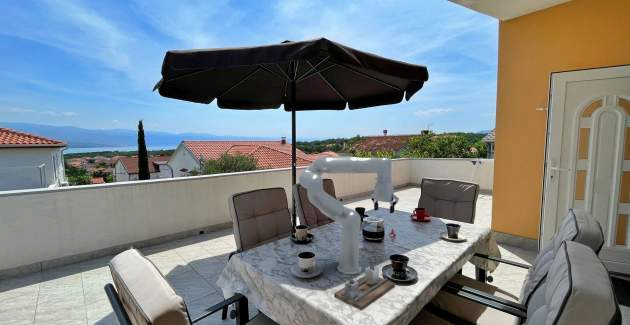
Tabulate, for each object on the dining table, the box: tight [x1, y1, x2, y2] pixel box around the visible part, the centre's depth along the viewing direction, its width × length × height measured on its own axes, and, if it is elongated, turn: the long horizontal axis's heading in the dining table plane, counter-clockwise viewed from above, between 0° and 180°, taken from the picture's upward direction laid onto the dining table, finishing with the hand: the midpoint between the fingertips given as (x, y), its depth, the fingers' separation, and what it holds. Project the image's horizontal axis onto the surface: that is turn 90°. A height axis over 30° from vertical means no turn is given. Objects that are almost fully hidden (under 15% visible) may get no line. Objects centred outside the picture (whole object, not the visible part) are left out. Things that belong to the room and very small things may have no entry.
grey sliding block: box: [364, 265, 380, 285], centre depth 125 cm, size 4×5×8 cm
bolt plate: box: [333, 275, 396, 311], centre depth 122 cm, size 14×26×8 cm, turn 135°
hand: (383, 211), depth 152 cm, fingers open, 9 cm apart
